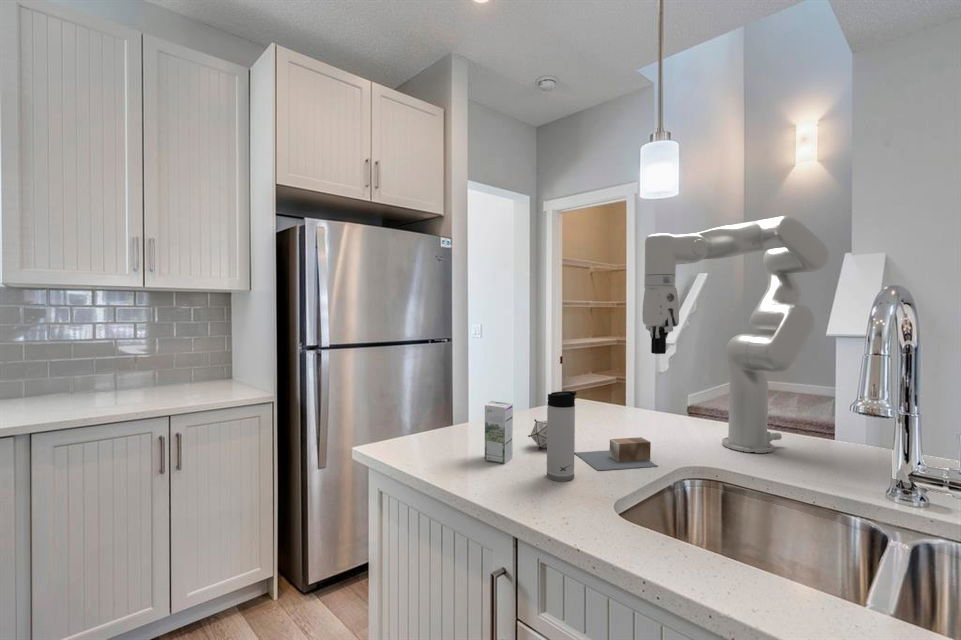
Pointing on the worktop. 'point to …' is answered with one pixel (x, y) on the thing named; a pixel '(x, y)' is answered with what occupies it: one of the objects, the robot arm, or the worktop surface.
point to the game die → (540, 433)
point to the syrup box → (498, 431)
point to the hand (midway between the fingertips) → (658, 353)
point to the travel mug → (561, 435)
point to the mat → (610, 461)
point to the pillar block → (630, 449)
